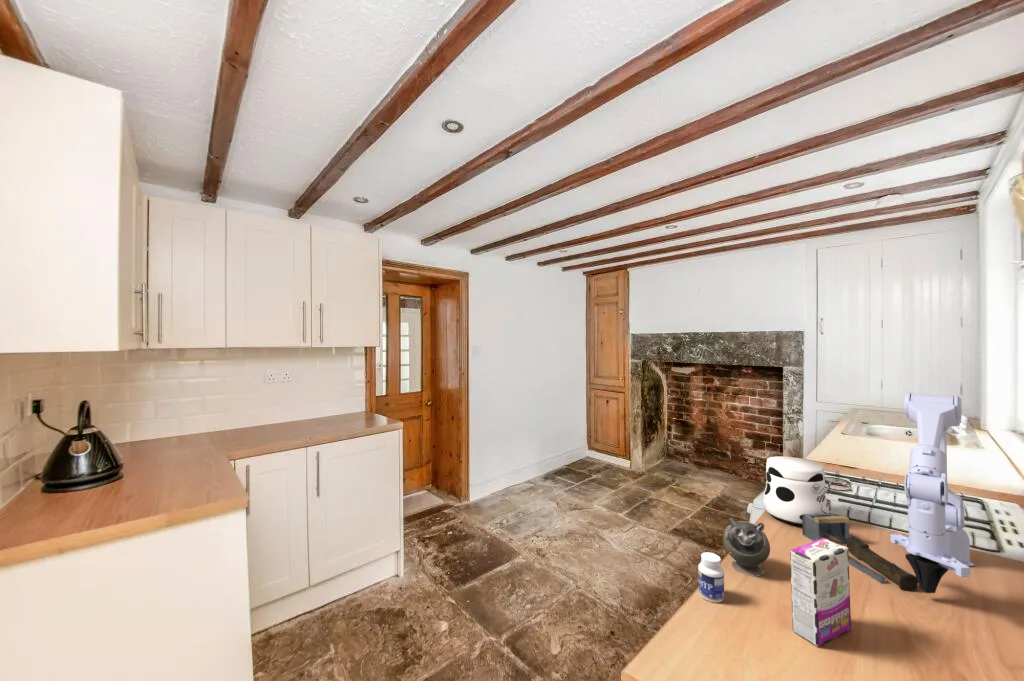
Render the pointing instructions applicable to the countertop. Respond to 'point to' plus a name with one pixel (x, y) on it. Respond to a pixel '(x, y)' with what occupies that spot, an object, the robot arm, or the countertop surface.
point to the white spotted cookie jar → (794, 488)
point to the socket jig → (834, 535)
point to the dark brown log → (881, 564)
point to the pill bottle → (711, 578)
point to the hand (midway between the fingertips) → (927, 591)
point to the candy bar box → (820, 591)
